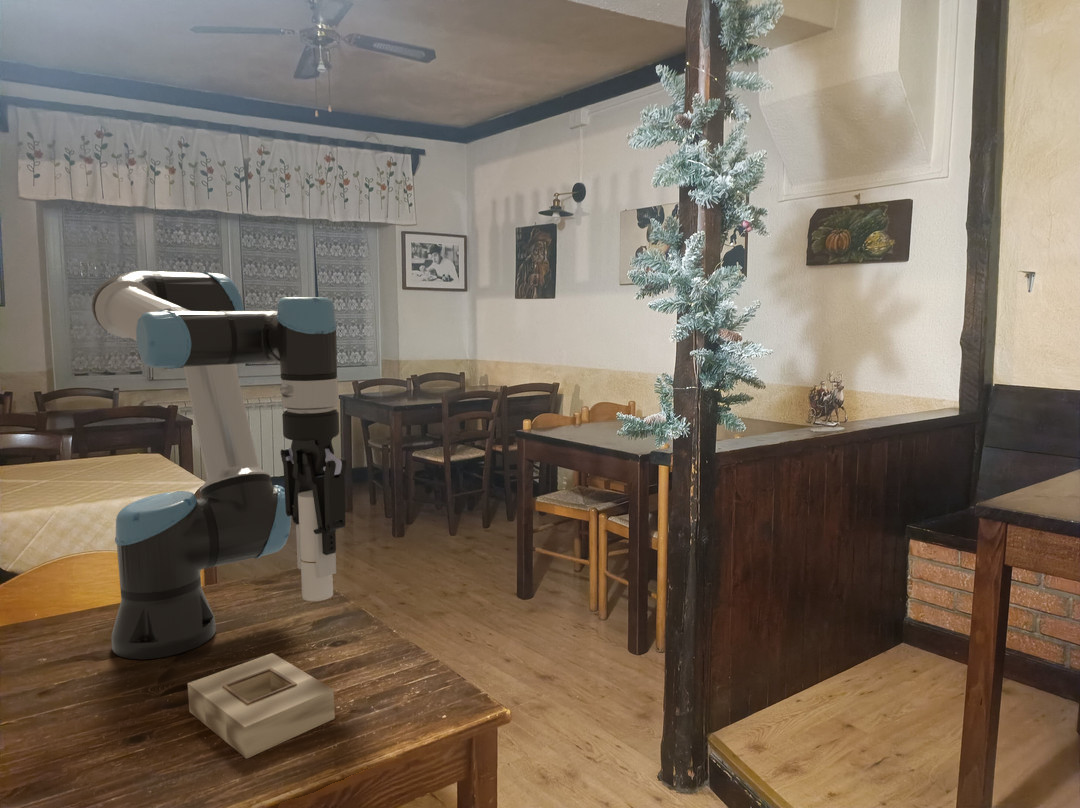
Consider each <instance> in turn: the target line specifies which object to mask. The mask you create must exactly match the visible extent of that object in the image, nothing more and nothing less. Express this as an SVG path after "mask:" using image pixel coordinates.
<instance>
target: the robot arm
mask: <svg viewBox="0 0 1080 808" xmlns="http://www.w3.org/2000/svg"><path fill="white" fill-rule="evenodd" d="M335 311H336V310H335V304H334V302H333V301H332V299H330V297H325V296H323V297H322V296H321V297H320V296H319V297H318V296H317V297H316V296H313V297H312V296H308V297H307V296H305V297H304V296H301V297H300V296H289V297H287V296H285V297H282V298H280V299H279V301H278V303H277V309H263V310H245V309H244V303H243V299H242V295H241V293H240V291H239V289H238V286H237V285H236V284H235V282H234V281H233V280H232V279H231V277H229V276H227V275H225V274H223V273H216V272H208V271H203V270H202V271H198V272H193V271H192V272H189V271H161V270H159V271H157V270H153V271H152V270H135V271H128V272H125V273H124V272H123V273H120V274H117V275H115V276H113V277H111V278H109V279H107V280H105V281H104V282H103V283H101V285H99V286H98V287H97V288H96V290H95V292H94V294H93V296H92V301H91V312H92V314H93V318H94V319H95V321H96V323H97V324H98V325H99V327H101V328H102V329H103V330H104V331H106V332H107V333H109V334H111V335H113V336H115V337H119V338H122V339H133V340H134V341H135V342H136V345H137V347H136V348H137V350H138V351H137V352H138V354H139V357H140V358H141V362H142V364H144V365H145V366H146V367H148V368H157V369H158V368H161V369H162V368H166V369H172V370H173V369H174V370H175V369H178V368H183V370H184V371H183V372H184V376H185V379H186V384H187V391H188V395H189V400H190V404H191V408H192V413H193V418H194V422H195V428H196V432H197V437H198V441H199V446H200V450H201V456H202V460H203V466H204V470H205V474H206V481H205V482H204V483H203V485H202V486H201V487H200V489H199V492H200V498H198V497H197V496H196V495H195V494H194V493H193V492H191V491H188V490H187V491H186V490H177V491H173V492H170V491H167V492H163V493H158V494H154V495H149V496H146V497H143V498H140V499H137V500H135V501H132V502H131V503H128V504H127V505H125V506H124V507H123V508H121V510H120V511H118V513H117V515H116V519H115V537H114V538H115V539H114V541H115V542H114V543H115V544H116V550H117V551H116V552H117V563H118V576H119V577H118V578H119V585H120V586H119V587H120V589H119V590H120V604H119V606H118V611H117V614H116V617H115V621H114V625H113V628H112V631H111V637H110V638H111V650H112V652H113V653H114V655H117V656H118V657H121V658H124V659H129V660H130V659H131V660H151V659H160V658H167V657H171V656H175V655H179V654H182V653H185V652H188V651H191V650H193V649H197V648H198V647H200V646H202V645H204V644H206V643H208V642H209V640H211V639H212V638H213V637H214V636H215V634H216V630H217V629H216V618H215V615H214V612H213V610H212V608H211V606H210V603H209V601H208V599H207V597H206V594H205V592H204V590H203V588H202V579H201V578H202V577H201V572H202V570H204V569H205V570H206V569H209V568H214V567H219V566H223V565H228V564H232V563H238V562H241V561H245V560H251V559H260V558H261V557H264V556H267V555H271V554H274V553H275V554H276V553H278V552H280V551H281V550H282V549H283V547H285V545H286V544H287V541H288V539H289V537H290V536H289V535H290V531H291V524H292V521H293V523H294V524H295V537H296V556H297V557H296V563H297V569H298V570H300V571H301V557H300V533H299V509H298V494H299V493H300V492H305V491H310V490H312V491H313V498H314V504H315V511H316V517H317V523H318V529H316V530H314V533H315V553H316V577H318V578H322V577H325V576H328V575H335V574H337V557H336V556H337V555H336V554H337V553H336V552H337V541H336V540H337V538H336V535H337V534H336V532H337V530H339V529H342V528H345V527H346V492H345V491H346V490H345V489H346V485H345V475H346V469H347V463H348V462H347V460H346V458H338V457H337V456H335V450H334V447H333V443H332V440H333V439H334V438H336V437H337V436H338V435H339V434H340V415H339V414H340V413H339V411H338V410H337V409H336V408H335V407H337V406H338V405H340V404H339V403H340V402H339V380H338V358H337V357H338V352H337V349H338V348H337V345H338V344H337V328H338V324H337V321H336V313H335ZM265 363H266V364H267V363H269V364H270V363H279V365H280V366H279V367H280V368H279V369H280V379H281V387H280V389H279V393H280V394H281V405H282V407H283V408H284V409H286V410H285V411H283V413H282V434H283V437H284V438H285V439H287V440H291V443H290V444H291V445H290V447H289V448H287V447H286V448H282V449H280V457H281V462H282V465H283V466H282V467H283V469H282V470H283V484H284V487H283V486H282V485H278V484H276V485H275V484H274V485H273V482H272V478H271V474H270V473H269V472H267V471H265V470H263V469H261V468H260V466H259V462H258V458H257V454H256V453H257V452H256V447H255V445H254V441H253V436H252V433H251V427H250V423H249V418H248V415H247V409H246V406H245V403H244V402H245V400H244V397H243V393H242V388H241V383H240V380H239V375H238V370H237V366H236V365H245V364H247V365H248V364H265Z"/></svg>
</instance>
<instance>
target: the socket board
mask: <svg viewBox="0 0 1080 808" xmlns="http://www.w3.org/2000/svg"><path fill="white" fill-rule="evenodd" d="M334 691H335V690H334V688H332V687H330V686H328V685H327V684H325V683H323V682H322V681H320V680H319V679H316V678H315V677H314V676H312V675H310V674H308V673H307V672H305V671H303V670H301V669H300V668H299V667H297V666H295V665H293V664H291V663H290V662H288V661H286V660H285V659H283V658H281V657H280V656H278V655H276V654H275V653H273V652H271V653H269V654H266V655H262V656H260V657H258V658H255V659H251V660H249V661H246V662H243V663H241V664H238V665H235V666H232V667H229V668H227V669H224V670H221V671H218V672H215V673H213V674H210V675H208V676H204V677H201V678H198V679H195V680H192V681H190V682H187V695H188V696H187V697H188V708H189V709H188V710H189V714H192V715H193V716H194V717H196V719H197V720H198V721H200V722H201V723H202V724H204V726H206V727H207V728H209V729H210V730H211V731H212V732H213V733H215V735H217V736H218V737H220V738H221V740H224V742H225V743H227V744H228V745H229V746H231V747H232V748H233V749H234V750H235V751H236V752H238V754H240V755H241V756H243V757H244V758H245V759H246V760H247V759H249V758H252V757H254V756H255V755H257V754H259V753H262V752H265V751H266V750H268V749H271V748H273V747H276V746H277V745H280V744H282V743H284V742H286V741H289V740H290V739H293V738H296V737H297V736H300V735H301V734H303V733H307V732H308V731H311V730H312V729H315V728H317V727H320V726H322V725H324V724H326V723H328V722H330V721H332V720H335V718H336V716H335V694H334V693H335V692H334Z"/></svg>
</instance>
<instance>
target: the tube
mask: <svg viewBox="0 0 1080 808" xmlns="http://www.w3.org/2000/svg"><path fill="white" fill-rule="evenodd" d="M298 509H299V533H300V557H301V570H300V575H301V598H302V599H303V600H305V601H308V602H320V601H325V600H327V599H330V598H332V597H333V596H334V581H333V579H334V577H333V576H334V574H332V575H328V576H325V577H322V578H318V577H316V553H315V533H314V530H316V529H318V523H317V517H316V511H315V504H314V498H313V491H312V490H310V491H305V492H300V493H299V494H298Z"/></svg>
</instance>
